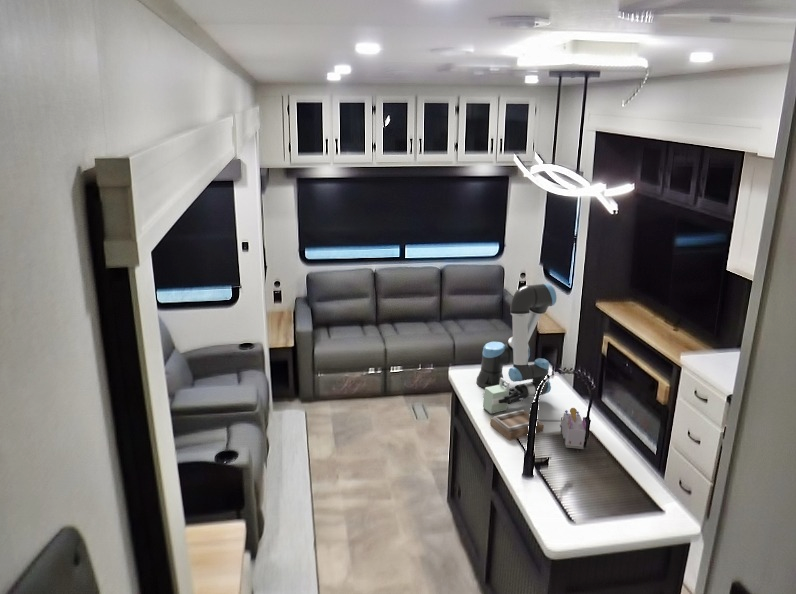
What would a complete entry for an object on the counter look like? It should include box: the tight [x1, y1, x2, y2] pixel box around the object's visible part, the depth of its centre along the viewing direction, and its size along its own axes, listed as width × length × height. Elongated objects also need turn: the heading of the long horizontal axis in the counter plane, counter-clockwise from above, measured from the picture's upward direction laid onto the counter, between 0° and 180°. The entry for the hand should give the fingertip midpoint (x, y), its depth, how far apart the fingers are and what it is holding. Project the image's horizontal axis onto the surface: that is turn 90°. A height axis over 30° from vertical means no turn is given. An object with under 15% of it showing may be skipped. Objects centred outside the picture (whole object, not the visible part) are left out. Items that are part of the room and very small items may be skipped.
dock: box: [489, 409, 545, 441], centre depth 300 cm, size 20×15×6 cm
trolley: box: [482, 377, 511, 416], centre depth 314 cm, size 10×7×16 cm
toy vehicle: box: [559, 407, 587, 450], centre depth 290 cm, size 9×20×15 cm, turn 174°
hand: (488, 398), depth 312 cm, fingers closed on trolley, 7 cm apart
